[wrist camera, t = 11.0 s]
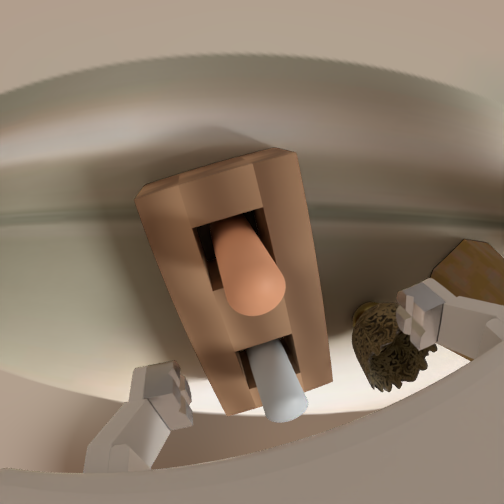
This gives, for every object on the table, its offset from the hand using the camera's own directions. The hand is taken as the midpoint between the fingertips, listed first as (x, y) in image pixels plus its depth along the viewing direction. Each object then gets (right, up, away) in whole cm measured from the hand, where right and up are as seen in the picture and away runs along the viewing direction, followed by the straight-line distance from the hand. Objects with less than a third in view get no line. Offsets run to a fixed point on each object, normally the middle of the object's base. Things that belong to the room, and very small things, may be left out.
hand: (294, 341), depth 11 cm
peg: (-3, +5, +14) cm, 15 cm away
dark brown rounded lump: (+10, -3, +21) cm, 23 cm away
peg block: (-2, +1, +16) cm, 16 cm away
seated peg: (-1, -4, +18) cm, 19 cm away
